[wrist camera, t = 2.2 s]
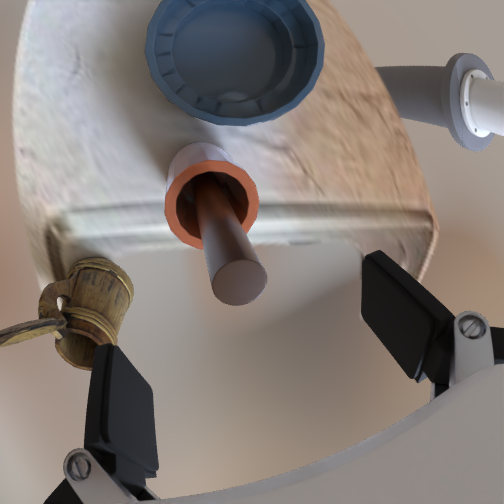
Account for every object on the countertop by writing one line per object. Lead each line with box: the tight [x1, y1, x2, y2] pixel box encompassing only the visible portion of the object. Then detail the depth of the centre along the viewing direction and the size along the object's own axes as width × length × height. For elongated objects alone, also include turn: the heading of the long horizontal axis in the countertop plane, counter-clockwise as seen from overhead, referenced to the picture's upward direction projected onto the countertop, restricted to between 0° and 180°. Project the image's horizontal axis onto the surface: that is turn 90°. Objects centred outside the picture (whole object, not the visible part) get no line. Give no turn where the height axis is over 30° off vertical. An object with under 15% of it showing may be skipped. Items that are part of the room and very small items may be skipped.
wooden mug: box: [0, 258, 134, 371], centre depth 24 cm, size 9×14×18 cm, turn 19°
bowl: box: [145, 0, 325, 126], centre depth 22 cm, size 15×15×6 cm
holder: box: [164, 142, 259, 249], centre depth 25 cm, size 7×7×11 cm
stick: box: [190, 171, 267, 306], centre depth 21 cm, size 2×2×20 cm
